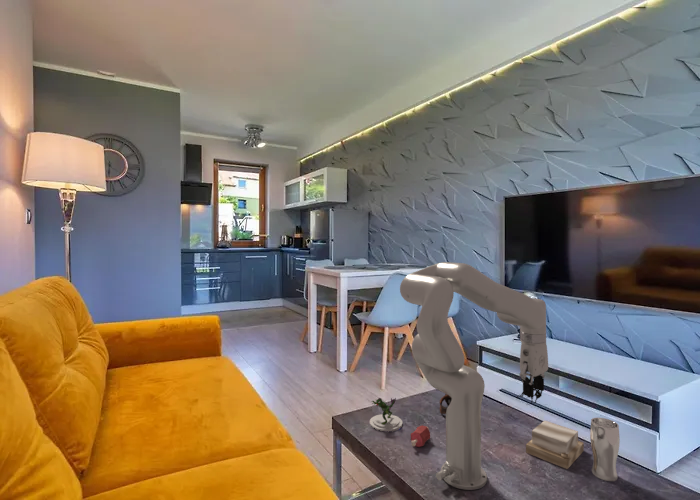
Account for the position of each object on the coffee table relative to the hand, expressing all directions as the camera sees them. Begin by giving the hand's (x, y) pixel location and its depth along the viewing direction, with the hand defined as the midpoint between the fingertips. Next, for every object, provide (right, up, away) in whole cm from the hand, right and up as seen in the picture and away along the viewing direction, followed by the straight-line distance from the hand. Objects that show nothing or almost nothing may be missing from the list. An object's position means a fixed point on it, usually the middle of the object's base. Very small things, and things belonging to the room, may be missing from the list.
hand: (533, 392), depth 124 cm
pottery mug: (-19, -18, +26) cm, 37 cm away
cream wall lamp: (+6, -18, -2) cm, 19 cm away
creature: (-2, -3, 0) cm, 3 cm away
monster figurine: (-46, -18, +18) cm, 52 cm away
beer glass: (+13, -18, -14) cm, 27 cm away
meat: (-36, -19, +4) cm, 40 cm away
